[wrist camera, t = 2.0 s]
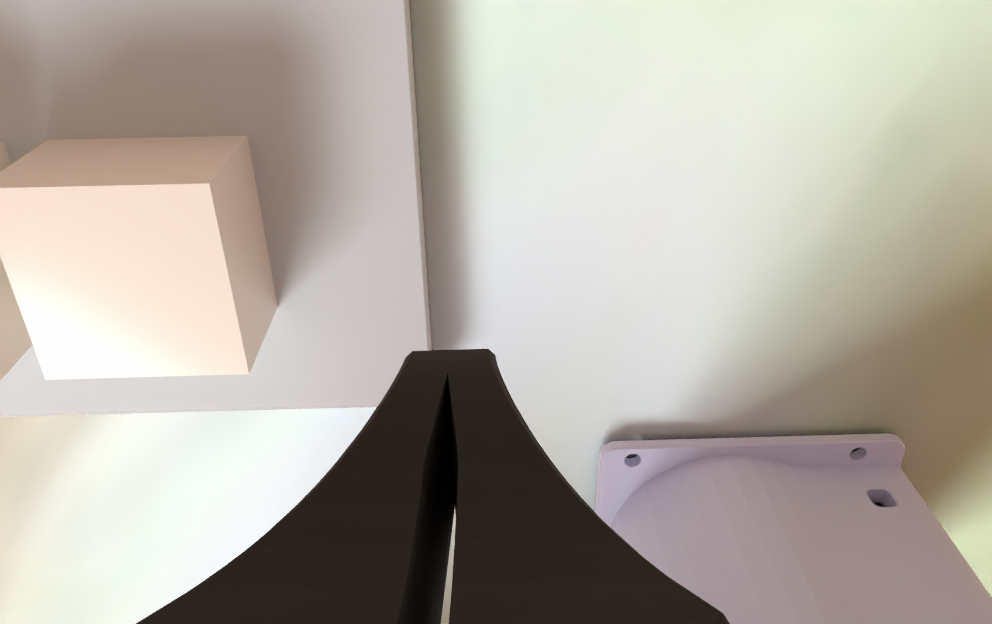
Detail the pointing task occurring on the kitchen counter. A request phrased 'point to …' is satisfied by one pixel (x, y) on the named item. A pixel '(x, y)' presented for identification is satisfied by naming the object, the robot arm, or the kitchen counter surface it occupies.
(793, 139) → the kitchen counter surface
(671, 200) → the kitchen counter surface
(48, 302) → the tile
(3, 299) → the tile
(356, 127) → the grey board
